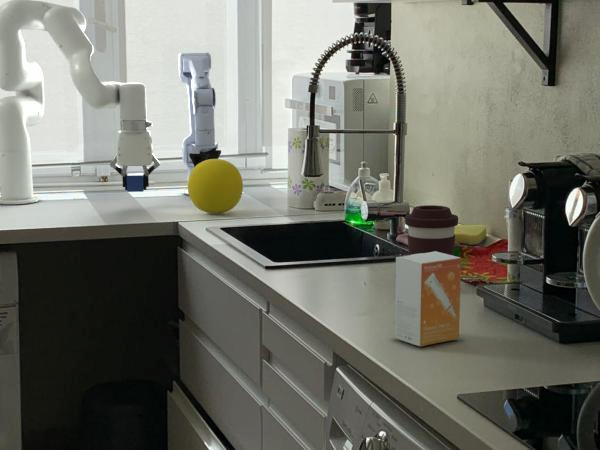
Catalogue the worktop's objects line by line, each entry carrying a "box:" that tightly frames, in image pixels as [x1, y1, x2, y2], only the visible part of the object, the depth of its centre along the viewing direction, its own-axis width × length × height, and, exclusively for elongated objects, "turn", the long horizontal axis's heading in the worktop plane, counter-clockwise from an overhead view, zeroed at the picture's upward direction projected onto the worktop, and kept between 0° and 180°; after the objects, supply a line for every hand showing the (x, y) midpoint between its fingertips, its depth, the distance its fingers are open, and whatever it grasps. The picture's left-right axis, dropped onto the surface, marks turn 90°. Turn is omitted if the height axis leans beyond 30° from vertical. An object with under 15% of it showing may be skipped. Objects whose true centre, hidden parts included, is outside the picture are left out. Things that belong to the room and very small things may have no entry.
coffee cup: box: [404, 204, 459, 256], centre depth 197 cm, size 10×10×15 cm
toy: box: [187, 158, 244, 215], centre depth 287 cm, size 15×15×15 cm
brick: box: [126, 172, 145, 193], centre depth 301 cm, size 5×5×5 cm
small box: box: [394, 251, 462, 347], centre depth 161 cm, size 8×6×13 cm
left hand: (135, 188), depth 302 cm, fingers closed on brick, 4 cm apart
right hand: (205, 175), depth 309 cm, fingers open, 7 cm apart
